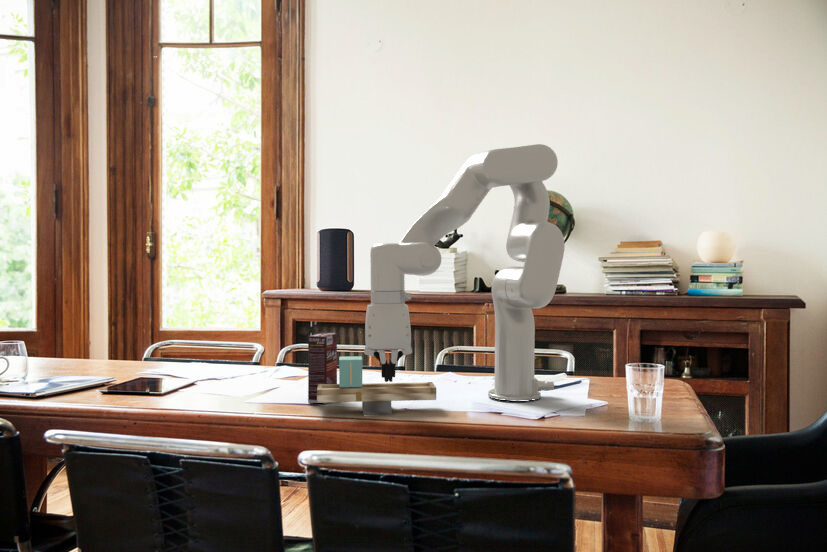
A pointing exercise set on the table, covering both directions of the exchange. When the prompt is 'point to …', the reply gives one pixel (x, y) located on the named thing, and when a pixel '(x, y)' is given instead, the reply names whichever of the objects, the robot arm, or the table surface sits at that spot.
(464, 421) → the table surface
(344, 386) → the block
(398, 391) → the beam
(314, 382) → the supplement box
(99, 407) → the table surface
